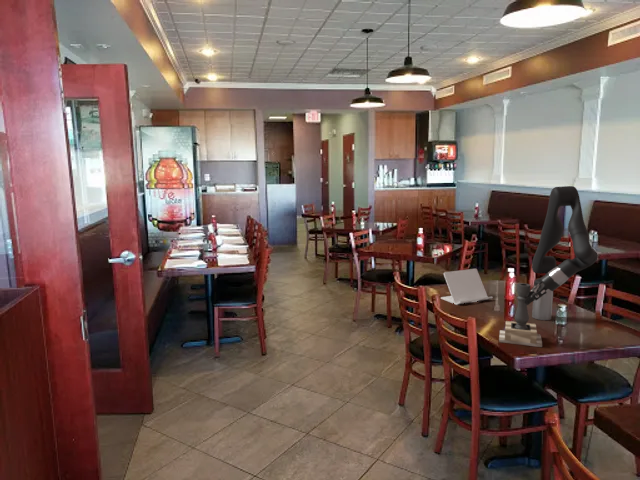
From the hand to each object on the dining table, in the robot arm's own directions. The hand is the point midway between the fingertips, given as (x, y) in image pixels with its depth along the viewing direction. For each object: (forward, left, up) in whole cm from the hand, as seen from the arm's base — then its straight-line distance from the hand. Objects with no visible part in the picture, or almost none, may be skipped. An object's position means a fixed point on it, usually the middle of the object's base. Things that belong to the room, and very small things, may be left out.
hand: (525, 300), depth 219 cm
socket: (0, -1, -19) cm, 19 cm away
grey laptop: (-60, -30, -19) cm, 70 cm away
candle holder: (0, -1, -18) cm, 18 cm away
